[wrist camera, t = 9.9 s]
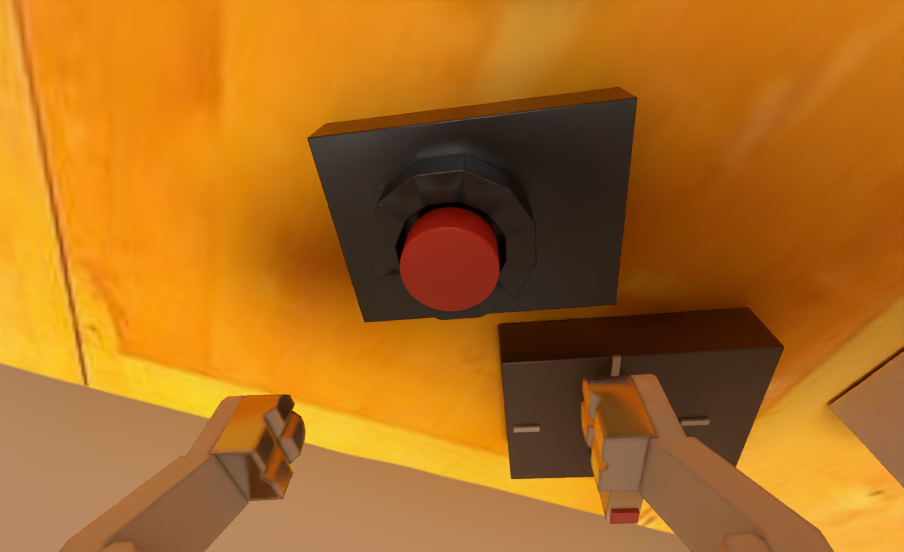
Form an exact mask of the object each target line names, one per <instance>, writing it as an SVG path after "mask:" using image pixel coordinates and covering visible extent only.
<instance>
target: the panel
mask: <svg viewBox="0 0 904 552" xmlns="http://www.w3.org/2000/svg"><path fill="white" fill-rule="evenodd" d="M498 333H499V347H500V361H501V373H502V384H503V395H504V407H505V418H506V429H507V440H508V451H509V462H510V474H511V479H532V478H568V477H594V474H593V470H592V466H591V450H592V449H590V448H589V447H588V446H587V445H586V442H585V438H584V434H583V429H582V421H581V402H583V401H584V400H585V399H584V395H583V392H582V382H583V379H584V378H591V377H607V376H622V375H628V376H629V375H642V374H654V375H655V376H656V377H657V379H658V381H659V383H660V385H661V387H662V389H663V391H664V393H665V395H666V397H667V399H668V401H669V403H670V405H671V407H672V409H673V411H674V413H675V415H676V417H677V419H678V421H679V423H680V425H681V427H682V429H683V431H684V433H685V435H686V437H695V438H697V439H698V440H699V441H701V442H702V443H703V444H705V445H706V446H707V447H709V448H710V449H711V450H713V451H714V452H715V453H717V454H718V455H719V456H721V457H722V458H723V459H725V460H726V461H727V462H729V463H730V464H731V465H733V466H734V467H735V468H736V465H737V463H738V460H739V458H740V455H741V453H742V450H743V448H744V446H745V443H746V441H747V438H748V436H749V433H750V431H751V428H752V426H753V423H754V421H755V418H756V416H757V413H758V411H759V409H760V406H761V404H762V401H763V399H764V396H765V394H766V391H767V389H768V386H769V384H770V381H771V379H772V376H773V374H774V372H775V369H776V367H777V364H778V362H779V359H780V357H781V354H782V352H783V349H784V346H783V345H782V344H781V343H780V342H779V341H778V339H777V338H776V337H775V336H774V335H773V334H772V333H771V332H770V331H769V329H768V328H767V327H766V326H765V325H764V324H763V323H762V322H761V321H760V319H759V318H758V317H757V316H756V315H755V314H754V313H753V312H752V311H751V309H749V308H740V309H726V310H711V311H696V312H682V313H667V314H652V315H637V316H623V317H608V318H593V319H579V320H564V321H549V322H534V323H520V324H505V325H499V326H498Z"/></svg>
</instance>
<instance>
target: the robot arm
mask: <svg viewBox="0 0 904 552" xmlns="http://www.w3.org/2000/svg"><path fill="white" fill-rule="evenodd" d="M582 392H583V395H584V399H585V400H584V401H583V402H581V421H582V429H583V434H584V438H585V442H586V445H587V446H588V447H589V448H590V449H592V451H591V466H592V470H593V474H594V477H595V481H596V485H597V489H598V491H639V494H640V495H641V496H642V497H643V498H644V500H645V501H646V502H647V503H648V504H649V505H650V506H651V507H652V508H653V509H654V511H655V512H656V513H657V514H658V515H659V516H660V517H661V518H662V519H663V521H664V522H665V523H666V524H667V525H668V526H669V527H670V528H671V529H672V530H673V532H674V533H675V534H676V535H677V536H678V537H679V538H680V539H681V540H682V541H683V543H684V544H685V545H686V546H687V547H688V548H689V549H690V550H691V551H692V552H834V551H833V549H832V548H831V546H830V545H829V543H828V542H827V540H826V539H825V537H824V536H823V534H822V533H821V531H820V530H819V529H817V528H816V527H815V526H813V525H812V524H811V523H809V522H808V521H807V520H805V519H804V518H803V517H801V516H800V515H799V514H797V513H796V512H795V511H793V510H792V509H791V508H789V507H788V506H787V505H785V504H784V503H783V502H781V501H780V500H779V499H777V498H776V497H774V496H773V495H772V494H770V493H769V492H768V491H766V490H765V489H764V488H762V487H761V486H760V485H758V484H757V483H756V482H754V481H753V480H752V479H750V478H749V477H748V476H746V475H745V474H744V473H742V472H741V471H740V470H738V469H737V468H735V467H734V466H733V465H731V464H730V463H729V462H727V461H726V460H725V459H723V458H722V457H721V456H719V455H718V454H717V453H715V452H714V451H713V450H711V449H710V448H709V447H707V446H706V445H705V444H703V443H702V442H701V441H699V440H698V439H697V438H695V437H686V435H685V433H684V431H683V429H682V427H681V425H680V423H679V421H678V419H677V417H676V415H675V413H674V411H673V409H672V407H671V405H670V403H669V401H668V399H667V397H666V395H665V393H664V391H663V389H662V387H661V385H660V383H659V381H658V379H657V377H656V376H655V375H654V374H642V375H629V376H628V375H622V376H607V377H591V378H584V379H583V382H582ZM294 405H295V403H294V402H293V400H292V398H291V396H290V395H247V396H228V397H227V398H225V399H224V400H222V401H221V403H220V404H219V406H218V408H217V409H216V411H215V412H214V414H213V415H212V417H211V418H210V420H209V422H208V423H207V425H206V426H205V428H204V429H203V431H202V432H201V434H200V436H199V437H198V439H197V440H196V442H195V443H194V445H193V447H192V448H191V450H190V451H189V453H188V454H187V456H180V457H179V458H178V459H176V460H175V461H173V462H172V463H171V464H169V465H168V466H167V467H165V468H164V469H163V470H161V471H160V472H159V473H157V474H156V475H155V476H153V477H152V478H151V479H149V480H148V481H147V482H145V483H144V484H143V485H141V486H140V487H138V488H137V489H136V490H135V491H133V492H132V493H131V494H129V495H128V496H126V497H125V498H124V499H123V500H121V501H120V502H119V503H117V504H116V505H114V506H113V507H112V508H110V509H109V510H108V511H106V512H105V513H104V514H102V515H101V516H100V517H99V518H97V519H96V520H94V521H93V522H92V523H91V524H89V525H88V526H86V527H85V528H84V529H82V530H81V531H80V532H79V533H77V534H76V535H74V536H73V537H72V538H71V539H69V540H68V541H67V542H66V544H65V545H64V546H63V547H62V549H61V550H60V551H59V552H204V551H205V550H206V549H207V548H208V547H209V546H210V545H211V544H212V543H213V542H214V540H215V539H216V538H217V537H218V536H219V535H220V534H221V533H222V532H223V531H224V529H225V528H226V527H227V526H228V525H229V524H230V523H231V522H232V521H233V520H234V518H235V517H236V516H237V515H238V514H239V513H240V512H241V511H242V510H243V509H244V508H245V507H246V505H247V504H248V501H258V500H276V499H283V497H284V495H285V492H286V489H287V487H288V484H289V482H290V479H291V477H292V474H293V470H292V467H291V463H292V462H293V461H294V460H295V459H296V458H297V457H298V456H299V455H300V454H301V451H302V448H303V445H304V440H305V426H304V422H303V420H302V418H301V416H300V415H298V414H297V413H295V412H294V411H292V409H293V407H294Z"/></svg>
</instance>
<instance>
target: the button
mask: <svg viewBox="0 0 904 552" xmlns="http://www.w3.org/2000/svg"><path fill="white" fill-rule="evenodd" d="M499 273H500V266H499V255H498V245H497V239H496V236H495V234H494V231H493V230H492V228H491V227H490V225H489V224H488V223H487V222H486V221H485V220H484V219H483V218H482V217H481V216H479V215H477V214H476V213H474V212H472V211H470V210H467V209H463V208H458V207H443V208H438V209H435V210H432V211H430V212H427V213H426V214H424V215H422V216H421V217H420V218H419V219H418V220H417V221H416V222H415V223H414V224H413V225H412V227H411V228H410V230H409V232H408V235H407V239H406V242H405V245H404V249H403V252H402V255H401V259H400V274H401V278H402V281H403V283H404V285H405V287H406V288H407V290H408V291H409V292H410V294H411V295H412V296H413V297H414V298H415V299H417V300H418V301H419V302H421V303H423V304H425V305H426V306H429V307H431V308H434V309H438V310H443V311H459V310H464V309H468V308H471V307H473V306H475V305H477V304H479V303H481V302H482V301H484V300H485V299H486V298H487V297H488V296H489V295H490V294H491V293H492V291H493V290H494V288H495V286H496V284H497V282H498V279H499Z"/></svg>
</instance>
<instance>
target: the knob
mask: <svg viewBox="0 0 904 552" xmlns="http://www.w3.org/2000/svg"><path fill="white" fill-rule="evenodd" d="M591 451H592V450H591ZM599 494H600V498H601V502H602V506H603V510H604V514H605V518H606V520H610V523H611V524H623V523H637V522H638V518H639V514H640V509H641V505H642V501H643V497H642V496H641V495H640V494H639V491H599Z"/></svg>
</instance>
